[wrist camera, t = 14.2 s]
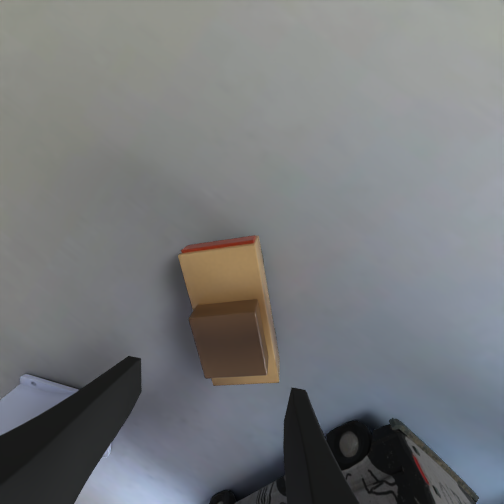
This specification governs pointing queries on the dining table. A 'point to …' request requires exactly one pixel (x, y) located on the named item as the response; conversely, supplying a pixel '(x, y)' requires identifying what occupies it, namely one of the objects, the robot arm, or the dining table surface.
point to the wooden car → (231, 311)
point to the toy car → (379, 470)
